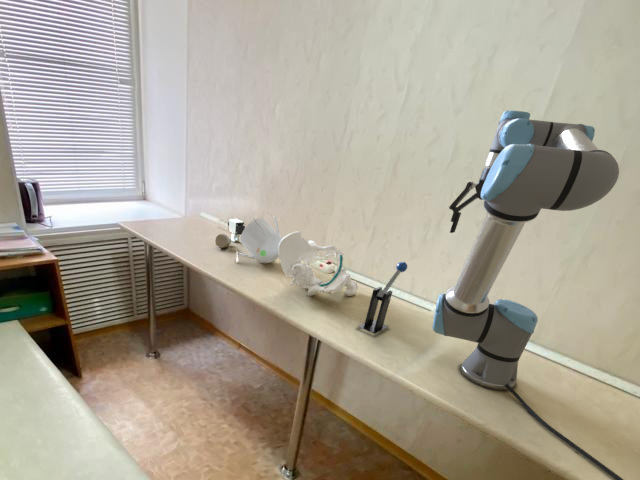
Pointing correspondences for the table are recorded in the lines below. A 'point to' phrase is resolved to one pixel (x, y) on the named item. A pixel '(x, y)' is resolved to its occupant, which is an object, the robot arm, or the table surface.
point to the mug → (222, 240)
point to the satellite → (261, 240)
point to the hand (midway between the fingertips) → (471, 237)
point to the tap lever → (392, 279)
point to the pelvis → (302, 249)
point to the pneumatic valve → (236, 228)
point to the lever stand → (370, 322)
